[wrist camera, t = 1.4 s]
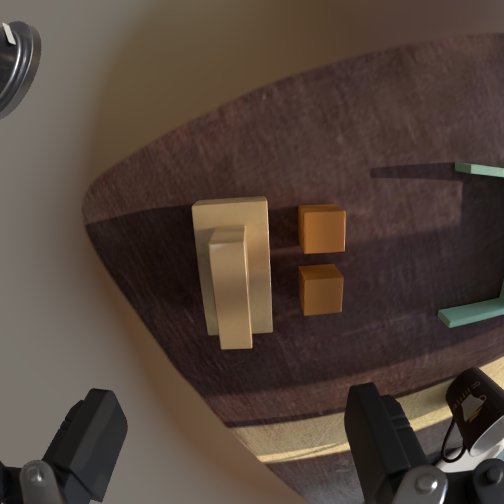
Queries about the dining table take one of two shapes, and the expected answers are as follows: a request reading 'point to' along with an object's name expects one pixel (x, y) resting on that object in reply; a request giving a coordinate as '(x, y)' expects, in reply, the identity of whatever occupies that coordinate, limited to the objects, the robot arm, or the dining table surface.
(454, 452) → the plate
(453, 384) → the coffee mug
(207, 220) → the stepped wooden block
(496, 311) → the green u-shaped pusher
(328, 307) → the crumb
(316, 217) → the crumb
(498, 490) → the robot arm
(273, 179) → the dining table surface
